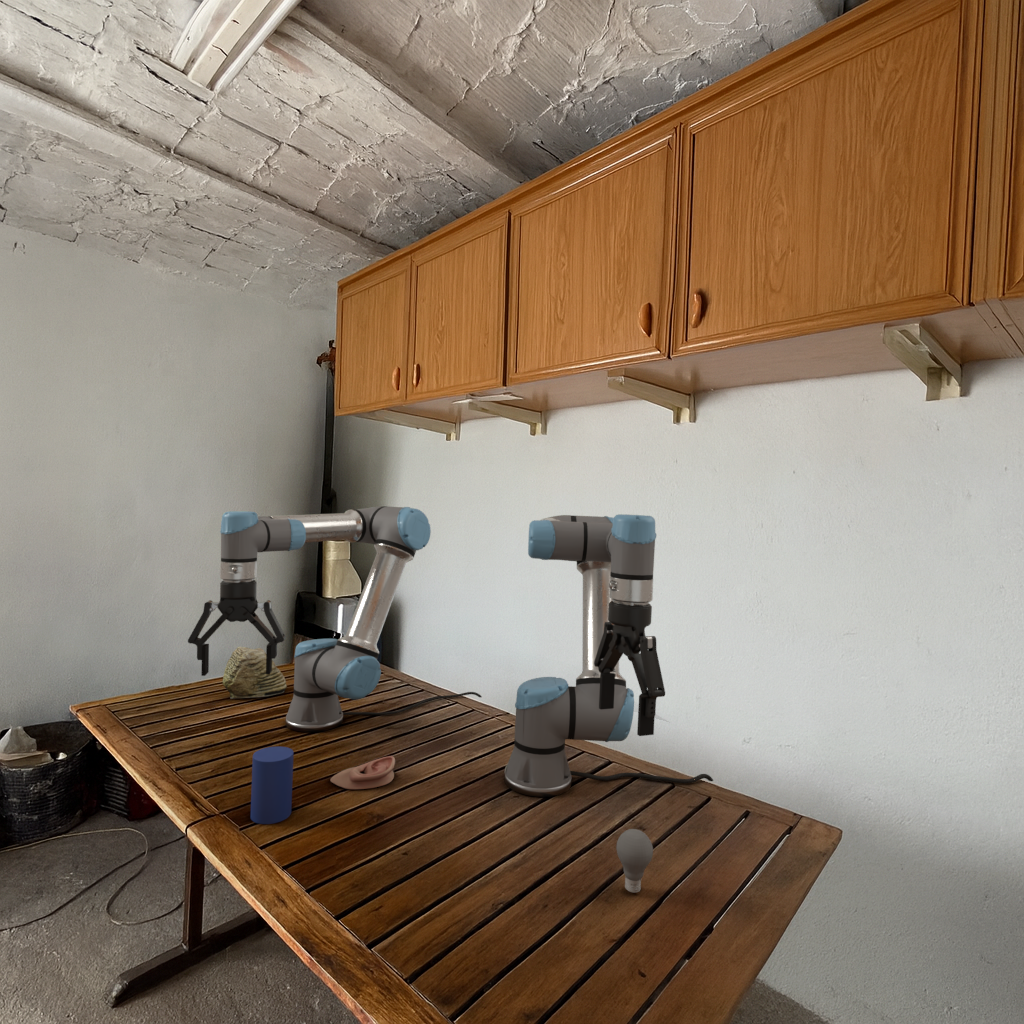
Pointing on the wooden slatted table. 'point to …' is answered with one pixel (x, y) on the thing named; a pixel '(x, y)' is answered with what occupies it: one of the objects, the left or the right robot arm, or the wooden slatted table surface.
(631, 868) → the light bulb
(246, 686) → the fossil
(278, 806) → the canister
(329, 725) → the left robot arm
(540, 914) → the wooden slatted table surface
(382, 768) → the anatomical model
